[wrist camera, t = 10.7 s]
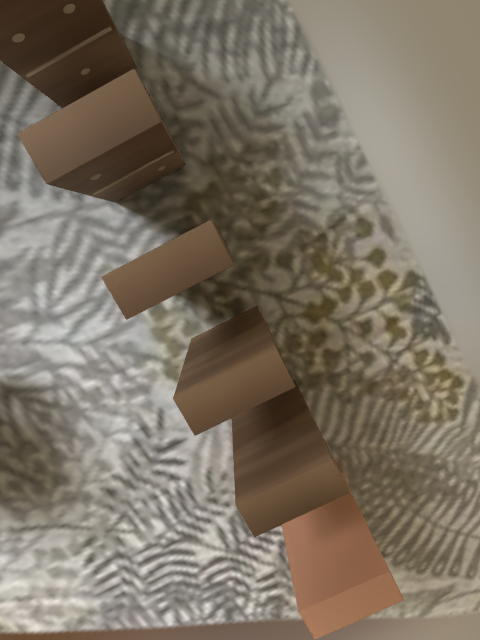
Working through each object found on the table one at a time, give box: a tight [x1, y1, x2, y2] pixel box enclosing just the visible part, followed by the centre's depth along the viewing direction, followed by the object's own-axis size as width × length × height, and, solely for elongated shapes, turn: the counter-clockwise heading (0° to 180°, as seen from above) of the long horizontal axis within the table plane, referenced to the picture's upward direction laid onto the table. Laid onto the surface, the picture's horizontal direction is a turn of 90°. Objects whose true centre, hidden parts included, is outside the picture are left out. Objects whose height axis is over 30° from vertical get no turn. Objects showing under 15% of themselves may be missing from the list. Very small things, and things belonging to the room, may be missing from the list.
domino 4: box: [173, 306, 296, 435], centre depth 22 cm, size 2×5×10 cm, turn 117°
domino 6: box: [282, 459, 404, 639], centre depth 25 cm, size 2×5×10 cm, turn 117°
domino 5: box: [232, 381, 349, 537], centre depth 24 cm, size 2×5×10 cm, turn 117°
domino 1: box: [0, 0, 137, 108], centre depth 19 cm, size 2×5×10 cm, turn 117°
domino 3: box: [102, 220, 234, 320], centre depth 21 cm, size 2×5×10 cm, turn 117°
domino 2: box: [17, 69, 186, 202], centre depth 20 cm, size 2×5×10 cm, turn 117°
